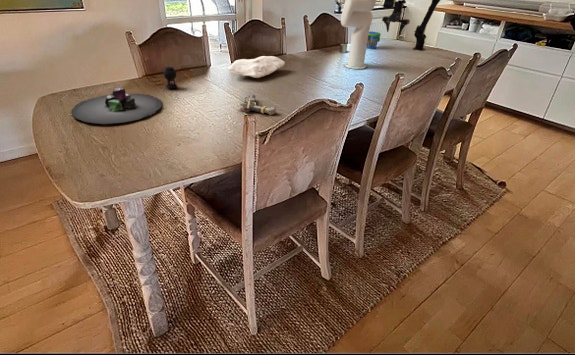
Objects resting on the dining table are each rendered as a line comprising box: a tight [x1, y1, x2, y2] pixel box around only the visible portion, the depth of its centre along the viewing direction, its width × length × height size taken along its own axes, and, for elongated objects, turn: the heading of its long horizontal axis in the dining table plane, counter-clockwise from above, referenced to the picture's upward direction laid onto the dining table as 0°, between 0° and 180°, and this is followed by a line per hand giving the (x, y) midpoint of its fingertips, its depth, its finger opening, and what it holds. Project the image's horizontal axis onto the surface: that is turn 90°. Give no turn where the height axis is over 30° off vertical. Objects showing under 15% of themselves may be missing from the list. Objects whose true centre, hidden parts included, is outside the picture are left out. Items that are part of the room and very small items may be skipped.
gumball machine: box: [161, 66, 179, 90], centre depth 173 cm, size 7×6×10 cm
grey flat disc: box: [70, 86, 163, 125], centre depth 150 cm, size 35×35×9 cm
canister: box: [339, 43, 348, 54], centre depth 248 cm, size 5×5×5 cm
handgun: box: [239, 93, 277, 116], centre depth 158 cm, size 3×18×15 cm
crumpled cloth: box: [227, 55, 286, 79], centre depth 196 cm, size 24×35×9 cm
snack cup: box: [366, 31, 381, 49], centre depth 259 cm, size 16×10×10 cm
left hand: (347, 13), depth 233 cm, fingers open, 9 cm apart
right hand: (393, 33), depth 266 cm, fingers open, 9 cm apart
